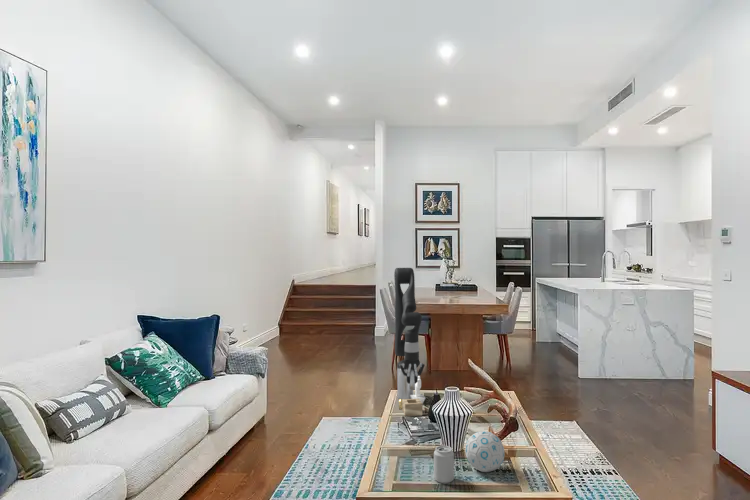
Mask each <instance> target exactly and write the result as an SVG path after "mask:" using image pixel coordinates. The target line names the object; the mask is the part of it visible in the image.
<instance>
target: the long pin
mask: <svg viewBox="0 0 750 500" xmlns="http://www.w3.org/2000/svg"><path fill="white" fill-rule="evenodd" d="M409 376H410V384H409V389H410V390H413V391H415V390H414V389H415V370H410V374H409Z"/></svg>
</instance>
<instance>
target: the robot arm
mask: <svg viewBox="0 0 750 500" xmlns="http://www.w3.org/2000/svg"><path fill="white" fill-rule="evenodd" d="M414 272H415V271H414V269H413V267H396V268H395V269H394V275H393V276H394V278H393V279H394V293H395V296H394V297H395V299H394V301H395V302H394V319H395V320H394V321H395V323H394V324H395V330H394V331H395V333H394V355H395V356H397V357H404V359H402V360H400V361H398V362H397V364H396V367H397V368H396V369H397V373H396V374H397V375H396V377H397V384H396V385H397V392H396V393H397V398H398V400H399V399H412V398H411V396H410V395H414V390H410V389H409V384H410V376H409V374H410V370H415V383H416V382H417V381H418V376H421V375H422V373H423V370H424V368H425V363H424V362H421V361H420V345H419V333H420V327H421V324H422V320H423V318H422V315H421V313H420V312H417V311H416V310H417V302H416V294H415V293H416V292H415V289H416V288H415V287H416V285H415V284H416V283H415V281H416V280H415V273H414ZM401 285H408V287H407V288H406V290H405V291H404V292H403V290H402V287H401ZM406 327H413V328H411V329H409V330H406V331H405V329H406ZM404 331H405V333H404V339H401V337H402V335H403V332H404ZM418 368H419V369H418Z"/></svg>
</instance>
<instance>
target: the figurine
mask: <svg viewBox="0 0 750 500" xmlns="http://www.w3.org/2000/svg"><path fill="white" fill-rule="evenodd" d="M421 389H422V379H421V375H418V381H417V382H416V383H415V389H414V390H413V391H415V392H414V393H415V394H413V395H410V396H411V398H412V399H420V401H421V402H422V405H423V403H424V402H425V400H426V396H424V394H423V393H421Z"/></svg>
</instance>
